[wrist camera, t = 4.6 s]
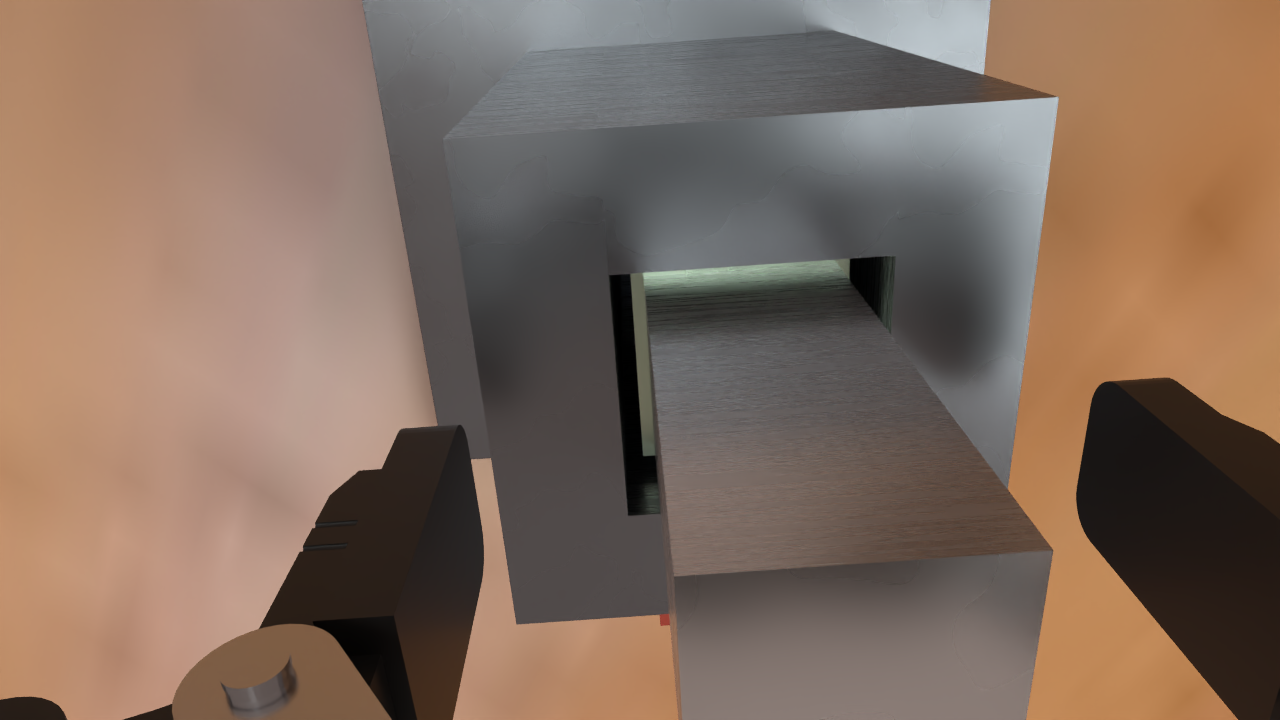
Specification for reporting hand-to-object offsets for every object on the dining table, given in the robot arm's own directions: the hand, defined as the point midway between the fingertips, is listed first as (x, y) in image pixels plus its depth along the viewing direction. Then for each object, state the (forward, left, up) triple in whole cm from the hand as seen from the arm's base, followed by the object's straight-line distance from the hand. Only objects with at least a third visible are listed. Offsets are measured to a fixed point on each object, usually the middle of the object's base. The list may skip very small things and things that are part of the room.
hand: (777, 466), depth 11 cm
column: (0, 0, -14) cm, 14 cm away
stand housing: (0, 0, -16) cm, 16 cm away
